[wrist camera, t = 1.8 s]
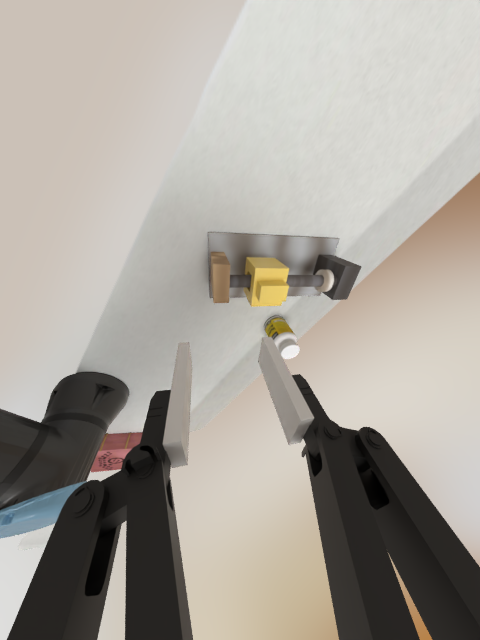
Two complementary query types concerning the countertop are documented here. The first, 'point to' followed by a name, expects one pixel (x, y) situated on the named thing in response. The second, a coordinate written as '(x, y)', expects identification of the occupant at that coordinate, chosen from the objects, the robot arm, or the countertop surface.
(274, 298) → the sleeve
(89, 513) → the robot arm
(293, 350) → the supplement bottle
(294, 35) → the countertop surface
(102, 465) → the book
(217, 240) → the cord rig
